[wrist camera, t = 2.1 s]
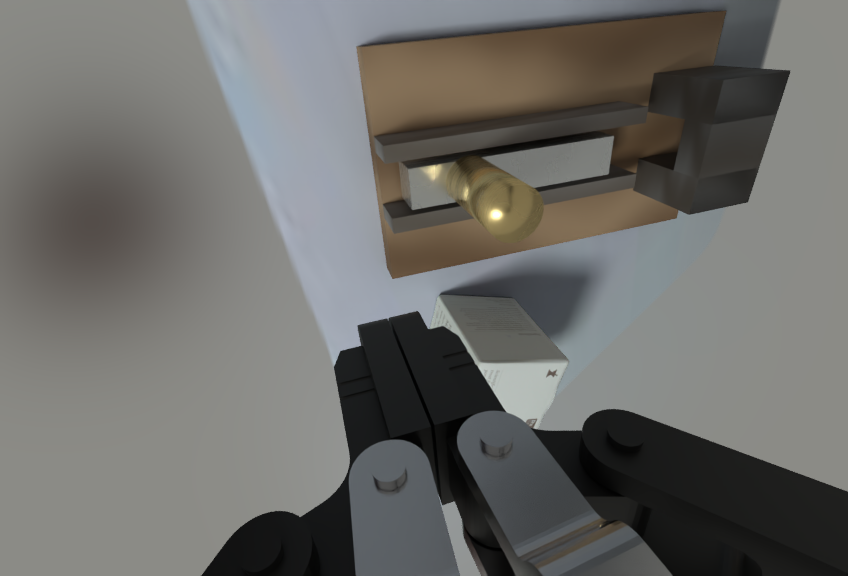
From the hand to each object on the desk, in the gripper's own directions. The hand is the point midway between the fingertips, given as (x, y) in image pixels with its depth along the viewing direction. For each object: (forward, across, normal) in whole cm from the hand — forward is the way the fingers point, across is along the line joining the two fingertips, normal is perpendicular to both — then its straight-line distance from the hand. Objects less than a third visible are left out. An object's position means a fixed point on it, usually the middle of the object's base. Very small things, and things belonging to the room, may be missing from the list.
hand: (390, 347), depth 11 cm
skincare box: (+16, -8, +12) cm, 21 cm away
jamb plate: (+15, -12, 0) cm, 20 cm away
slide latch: (+13, -9, 0) cm, 16 cm away
